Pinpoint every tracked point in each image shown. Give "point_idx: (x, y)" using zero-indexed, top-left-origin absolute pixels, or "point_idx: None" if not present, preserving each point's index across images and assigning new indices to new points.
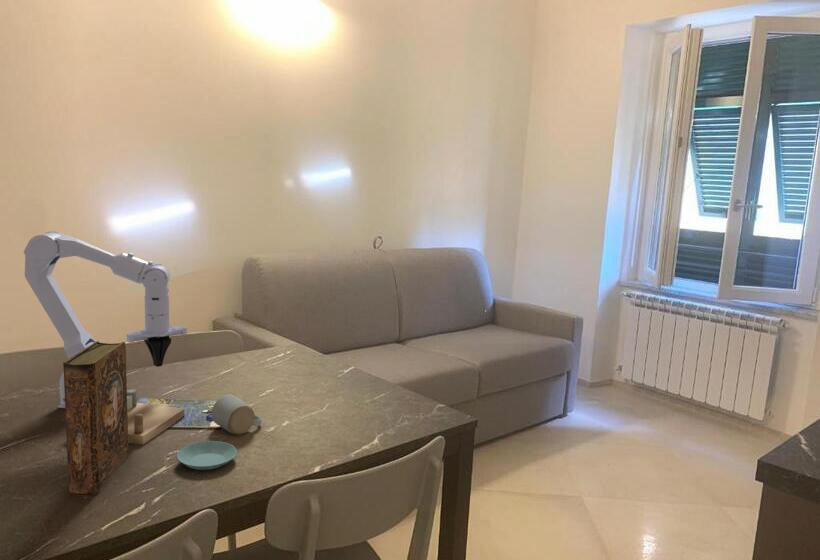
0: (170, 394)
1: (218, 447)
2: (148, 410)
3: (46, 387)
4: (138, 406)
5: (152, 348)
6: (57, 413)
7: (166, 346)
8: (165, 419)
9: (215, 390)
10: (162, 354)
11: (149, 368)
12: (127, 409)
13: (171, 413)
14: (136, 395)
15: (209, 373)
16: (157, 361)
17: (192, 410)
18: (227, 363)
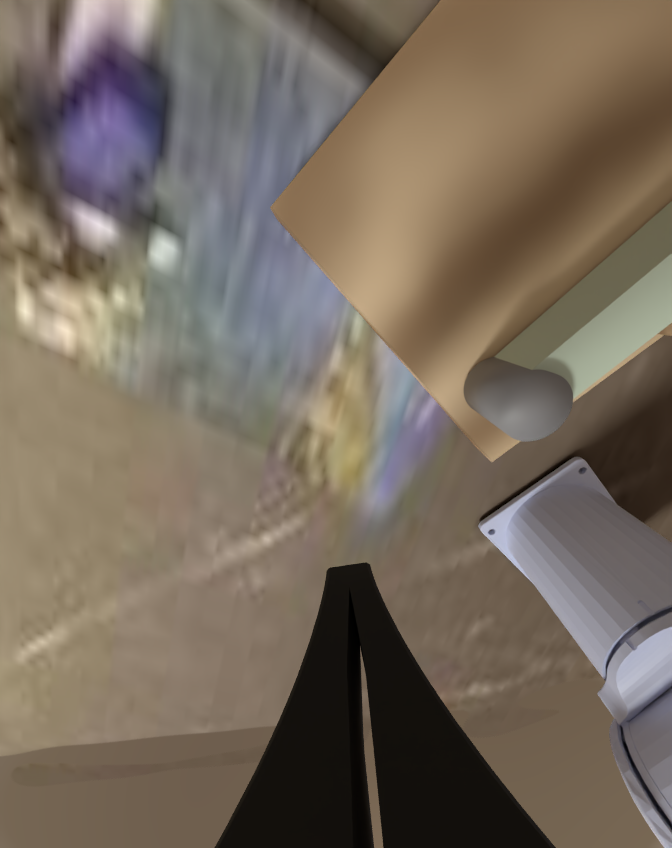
0: (276, 511)
1: None
2: (443, 282)
3: (571, 676)
4: (462, 362)
5: (493, 783)
6: (657, 491)
7: (275, 806)
8: (417, 56)
9: (95, 485)
10: (331, 666)
11: None
12: (530, 327)
13: (355, 160)
14: (489, 393)
15: (108, 641)
16: (375, 596)
17: (225, 289)
18: (38, 697)
